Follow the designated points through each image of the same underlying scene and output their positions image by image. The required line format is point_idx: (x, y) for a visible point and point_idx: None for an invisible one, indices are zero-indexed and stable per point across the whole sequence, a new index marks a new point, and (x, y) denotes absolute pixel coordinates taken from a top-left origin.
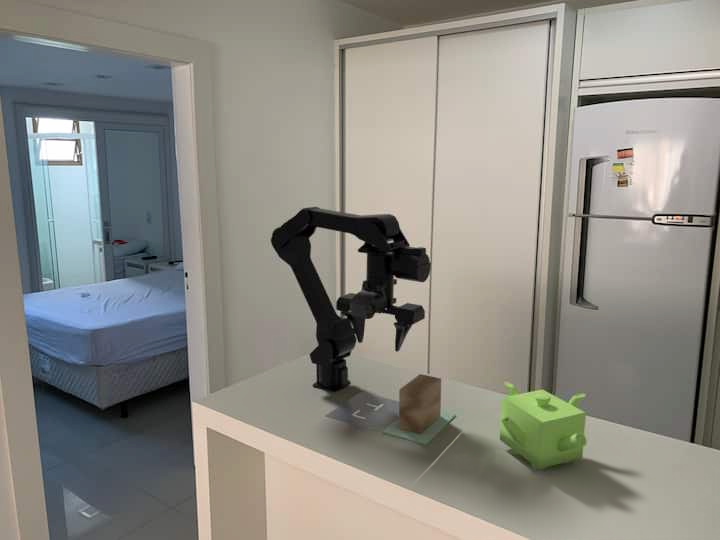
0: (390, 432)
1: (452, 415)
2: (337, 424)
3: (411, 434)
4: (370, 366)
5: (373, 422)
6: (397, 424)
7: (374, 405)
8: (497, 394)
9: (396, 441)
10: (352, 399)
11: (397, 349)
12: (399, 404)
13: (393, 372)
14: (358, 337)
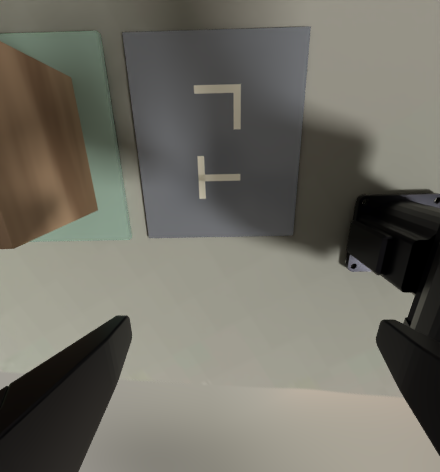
0: (73, 37)
1: None
2: (247, 5)
3: None
4: (343, 368)
5: (159, 79)
6: (91, 100)
7: (217, 181)
8: None
9: (40, 13)
10: (290, 181)
11: (106, 323)
12: (6, 45)
13: (278, 365)
14: (420, 340)
